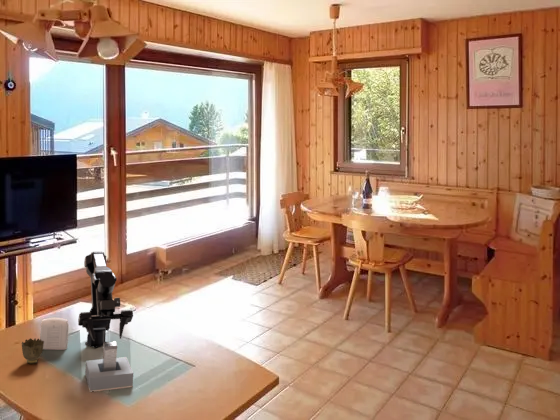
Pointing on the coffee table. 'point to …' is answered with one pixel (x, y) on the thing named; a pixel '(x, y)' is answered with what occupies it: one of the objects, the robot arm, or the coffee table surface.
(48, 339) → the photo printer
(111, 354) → the metal bar
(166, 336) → the coffee table surface
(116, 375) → the square well
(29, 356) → the brown ornate lampshade
